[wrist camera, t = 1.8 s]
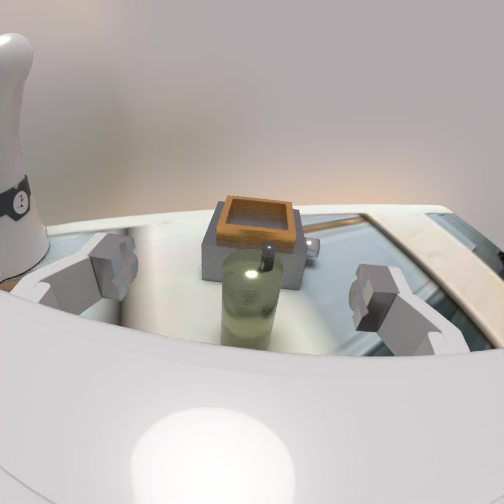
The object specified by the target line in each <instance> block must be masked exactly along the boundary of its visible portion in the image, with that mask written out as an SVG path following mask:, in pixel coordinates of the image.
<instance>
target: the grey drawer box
mask: <svg viewBox="0 0 504 504" xmlns="http://www.w3.org/2000/svg"><path fill="white" fill-rule="evenodd" d="M265 242H273V243H275V244H276V245H277V247H276V253H275V256H276V257H277V258H278V259H279V260H280V261H281V262H282V264H283V267H284V272H283V278H282V283H281V288H284V289H294V290H299V288H300V284H301V280H302V276H303V272H304V268H305V263H306V259H307V257H315V258H317V257H318V255H319V250H320V240H319V239H315V238H307V237H304V234H303V229H302V223H301V218H300V213H299V210H295V209H293V208H292V203H291V202H285V201H276V200H267V199H258V198H249V197H239V196H227V198H226V201H225V202H221V201H220V202H218V204H217V207H216V209H215V212H214V214H213V217H212V219H211V222H210V224H209V227H208V229H207V232H206V234H205V237H204V240H203V242H202V280H209V281H218V282H222V280H223V262H224V260H225V258H226V257H227V256H228V255H229V254H231V253H233V252H235V251H238V250H242V249H258V250H262V248H263V243H265Z"/></svg>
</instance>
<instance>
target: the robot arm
mask: <svg viewBox="0 0 504 504" xmlns="http://www.w3.org/2000/svg"><path fill="white" fill-rule="evenodd" d="M32 62H33V51H32V48H31V45H30V43H29V41H28V40H27V39H26V38H25V37H23V36H22V35H20V34H17V33H7V34H4V35H1V36H0V282H1V281H3V280H4V279H7V278H10V277H13V276H16V275H19V274H21V273H23V272H25V271H27V270H28V269H30V268H31V267H33V266H34V265H35V264H37V263H38V262H39V261H40V260H41V259H42V258H43V257H44V255H45V254H46V253H47V251H48V249H49V244H50V243H49V240H48V238H47V236H46V234H47V229H46V227H45V226H43V225H42V223H41V220H40V217H39V214H38V212H37V209H36V206H35V203H34V200H33V199H32V198H31V197H30V194H31V192H30V187H29V181H28V179H27V176H26V175H25V174H24V168H23V162H22V155H21V148H20V139H19V123H20V113H21V105H22V97H23V90H24V85H25V81H26V79H27V77H28V74H29V72H30V70H31V66H32ZM134 249H135V242H134V239H133V238H132V237H131V236H124V235H116V234H109V233H101V232H99V233H96V234H95V235H94V236H93V237H92V238H91V239H90V240H89V241H88V242H87V243H86V244H85V245H84V246H83V247H82V248H81V249H80V250H79V251H78V252H77V253H76V254H71V255H69V256H67V257H64V258H62V259H60V260H58V261H55V262H53V263H51V264H49V265H47V266H44V267H42V268H40V269H38V270H36V271H34V272H32V273H30V274H27V275H25V276H24V277H23V278H22V279H21V280H20V281H19V283H18V284H17V285H16V286H15V287H14V288H13V290H12V291H11V292H10V293H8V292H6V291H3V290H0V504H504V348H501V349H493V350H485V351H477V352H470V350H469V348H468V346H467V344H466V342H465V340H464V338H463V335H462V333H461V331H460V330H459V329H458V328H456V327H455V326H454V325H453V324H452V323H450V322H449V321H448V320H447V319H445V318H444V317H443V316H442V315H441V314H439V313H438V312H437V311H436V310H434V309H433V308H432V307H431V306H429V305H428V304H427V303H426V302H424V301H423V300H422V299H420V298H419V297H418V296H417V295H413V294H412V292H411V290H410V288H409V286H408V284H407V282H406V280H405V278H404V276H403V274H402V272H401V271H400V269H399V268H398V267H391V266H378V265H367V264H360V265H359V267H358V269H357V271H356V275H357V278H358V279H357V280H356V281H354V282H353V283H352V285H351V288H350V293H349V305H350V308H351V309H352V310H353V311H354V315H353V317H352V318H353V322H354V326H355V330H356V331H365V332H377V334H378V335H379V337H380V338H381V339H382V340H383V341H384V343H385V344H386V345H387V346H388V347H389V349H390V350H391V351H392V352H393V354H394V355H395V356H396V357H359V356H328V355H310V354H296V353H283V352H273V351H263V350H254V349H245V348H237V347H230V346H223V345H216V344H209V343H203V342H196V341H191V340H185V339H179V338H174V337H168V336H163V335H158V334H153V333H148V332H143V331H139V330H134V329H129V328H125V327H121V326H117V325H112V324H108V323H104V322H100V321H97V320H93V319H89V318H85V317H82V316H78V315H80V314H81V313H82V312H84V311H85V310H87V309H88V308H89V307H91V306H92V305H94V304H95V303H96V302H98V301H99V300H101V299H102V298H107V299H112V300H118V301H122V299H123V297H124V296H125V294H126V292H127V291H128V284H129V283H131V282H133V281H134V279H135V277H136V275H137V271H138V259H137V256H136V255H135V254H134V253H133V250H134Z"/></svg>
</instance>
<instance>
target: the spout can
mask: <svg viewBox="0 0 504 504" xmlns="http://www.w3.org/2000/svg"><path fill="white" fill-rule="evenodd" d="M276 247H277V245H276V244H275V243H273V242H265V243H263V248H262V250H258V249H242V250H238V251H235V252H233V253H231V254H229V255H228V256H227V257H226V258H225V260H224V262H223V280H222V320H221V343H222V345H223V346H230V347H237V348H245V349H254V350H263V351H266V350H267V348H268V345H269V340H270V336H271V331H272V326H273V322H274V317H275V312H276V307H277V302H278V298H279V293H280V288H281V283H282V278H283V272H284V267H283V264H282V262H281V261H280V260H279V259H278V258H277V257H276V256H275V253H276Z"/></svg>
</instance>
